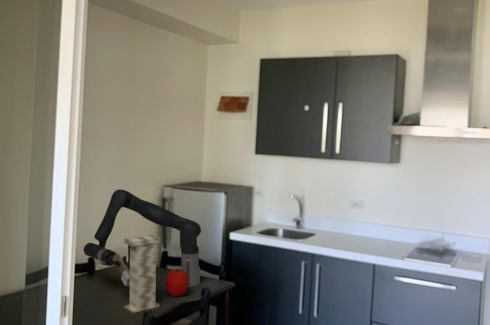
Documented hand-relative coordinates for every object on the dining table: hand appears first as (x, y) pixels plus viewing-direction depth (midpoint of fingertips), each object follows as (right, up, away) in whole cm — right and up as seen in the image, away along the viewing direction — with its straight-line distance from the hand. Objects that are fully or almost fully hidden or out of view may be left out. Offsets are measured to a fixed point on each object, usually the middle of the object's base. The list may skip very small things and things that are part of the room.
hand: (122, 264), depth 252 cm
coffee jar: (-3, -13, +49) cm, 51 cm away
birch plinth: (+12, -17, -14) cm, 25 cm away
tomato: (+26, -16, +4) cm, 31 cm away
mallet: (0, -3, 0) cm, 3 cm away
